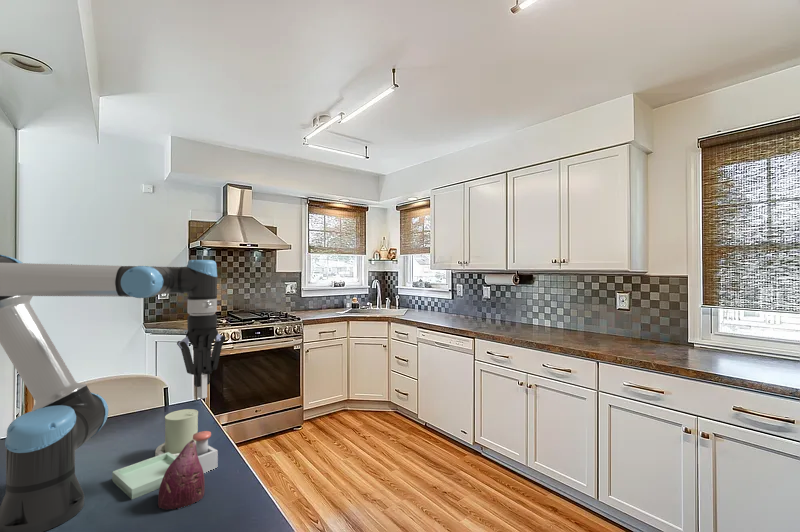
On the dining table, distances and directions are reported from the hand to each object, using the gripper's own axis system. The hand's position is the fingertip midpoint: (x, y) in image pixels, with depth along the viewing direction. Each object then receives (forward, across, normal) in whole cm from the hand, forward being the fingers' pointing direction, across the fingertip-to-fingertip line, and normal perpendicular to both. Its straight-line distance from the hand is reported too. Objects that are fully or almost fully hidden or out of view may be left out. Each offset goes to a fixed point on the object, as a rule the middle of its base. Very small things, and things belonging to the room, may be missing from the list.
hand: (202, 397), depth 110 cm
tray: (+20, -10, +6) cm, 24 cm away
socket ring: (+20, +2, +16) cm, 26 cm away
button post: (+20, 0, 0) cm, 20 cm away
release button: (+17, 0, 0) cm, 17 cm away
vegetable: (+21, -10, -10) cm, 25 cm away
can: (+21, +2, +16) cm, 26 cm away
